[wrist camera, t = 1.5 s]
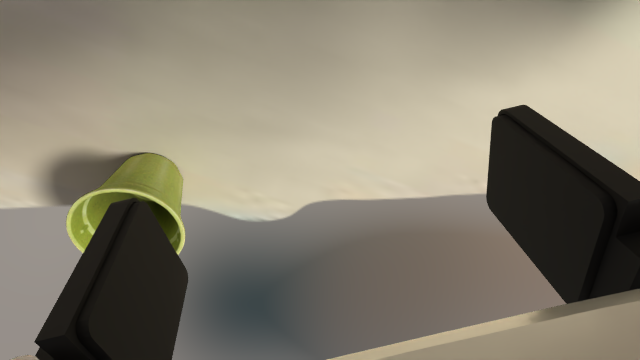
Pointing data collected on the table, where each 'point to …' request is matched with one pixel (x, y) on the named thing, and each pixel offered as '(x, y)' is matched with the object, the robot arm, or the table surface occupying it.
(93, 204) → the plant pot
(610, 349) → the robot arm
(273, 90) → the table surface
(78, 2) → the table surface
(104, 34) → the table surface
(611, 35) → the table surface
